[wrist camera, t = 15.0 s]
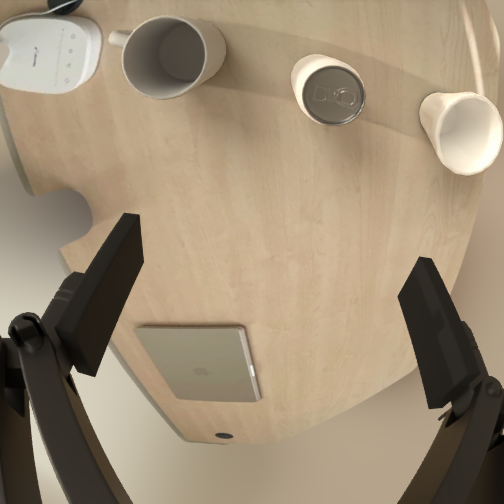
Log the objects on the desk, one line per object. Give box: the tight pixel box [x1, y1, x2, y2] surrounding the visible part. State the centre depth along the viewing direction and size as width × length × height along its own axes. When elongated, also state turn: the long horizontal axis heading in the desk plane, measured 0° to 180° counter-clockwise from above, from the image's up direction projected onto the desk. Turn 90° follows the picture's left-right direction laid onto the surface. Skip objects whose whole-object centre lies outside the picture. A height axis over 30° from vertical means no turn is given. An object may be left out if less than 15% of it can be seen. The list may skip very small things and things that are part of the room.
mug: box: [109, 15, 226, 100], centre depth 28 cm, size 12×8×11 cm
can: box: [291, 54, 365, 126], centre depth 29 cm, size 6×6×12 cm
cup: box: [419, 92, 503, 176], centre depth 31 cm, size 10×10×9 cm
